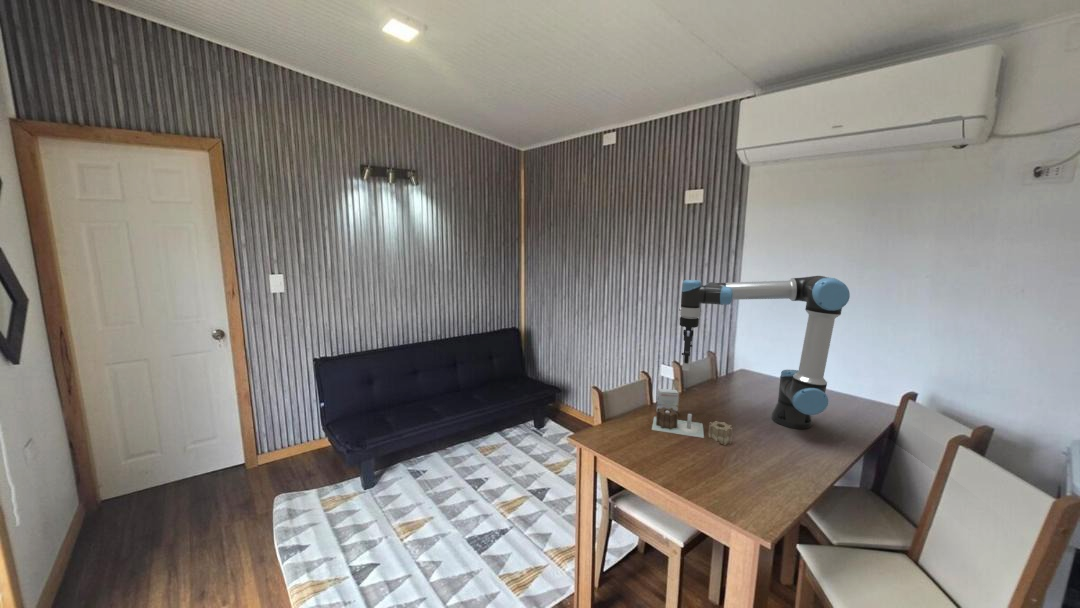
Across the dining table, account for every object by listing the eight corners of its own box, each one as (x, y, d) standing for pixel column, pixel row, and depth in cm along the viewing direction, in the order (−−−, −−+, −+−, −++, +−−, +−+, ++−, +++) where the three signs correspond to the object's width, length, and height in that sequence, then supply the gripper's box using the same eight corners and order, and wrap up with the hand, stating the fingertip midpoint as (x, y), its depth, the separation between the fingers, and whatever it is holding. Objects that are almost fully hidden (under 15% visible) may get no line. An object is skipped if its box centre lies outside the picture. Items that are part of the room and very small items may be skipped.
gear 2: (730, 437, 169) (731, 422, 168) (732, 446, 161) (733, 431, 160) (707, 433, 172) (708, 419, 171) (708, 442, 164) (709, 428, 163)
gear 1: (677, 422, 179) (678, 409, 178) (676, 430, 171) (677, 416, 171) (657, 419, 182) (657, 406, 181) (655, 427, 174) (656, 413, 173)
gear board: (702, 426, 179) (703, 410, 178) (703, 440, 166) (705, 423, 165) (653, 418, 185) (654, 403, 184) (651, 432, 172) (652, 415, 171)
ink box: (657, 417, 187) (659, 392, 185) (655, 413, 192) (657, 388, 190) (677, 418, 186) (679, 393, 184) (675, 414, 191) (676, 389, 189)
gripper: (681, 311, 189) (678, 357, 193) (678, 321, 166) (675, 373, 169) (698, 312, 187) (695, 359, 190) (699, 323, 164) (695, 375, 167)
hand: (686, 366), depth 180 cm, fingers open, 13 cm apart
